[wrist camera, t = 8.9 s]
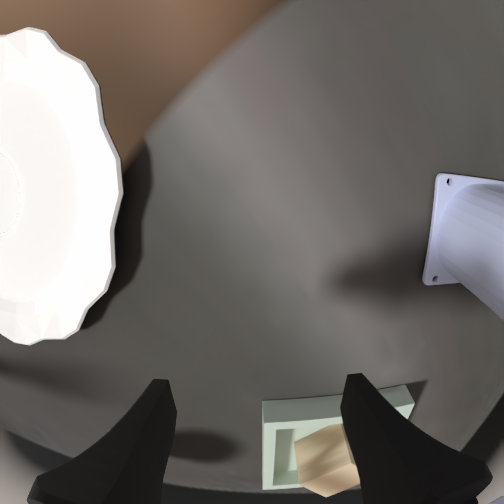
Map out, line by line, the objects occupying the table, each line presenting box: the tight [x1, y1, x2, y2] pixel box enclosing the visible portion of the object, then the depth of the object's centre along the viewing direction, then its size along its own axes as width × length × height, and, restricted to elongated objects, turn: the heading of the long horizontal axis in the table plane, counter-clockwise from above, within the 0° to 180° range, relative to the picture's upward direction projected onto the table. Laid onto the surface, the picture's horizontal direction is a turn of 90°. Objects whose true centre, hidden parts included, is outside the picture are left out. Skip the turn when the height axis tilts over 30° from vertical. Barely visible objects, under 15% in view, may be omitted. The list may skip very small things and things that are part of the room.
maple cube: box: [294, 423, 360, 497], centre depth 24 cm, size 5×5×5 cm
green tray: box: [262, 385, 415, 490], centre depth 25 cm, size 13×13×2 cm
